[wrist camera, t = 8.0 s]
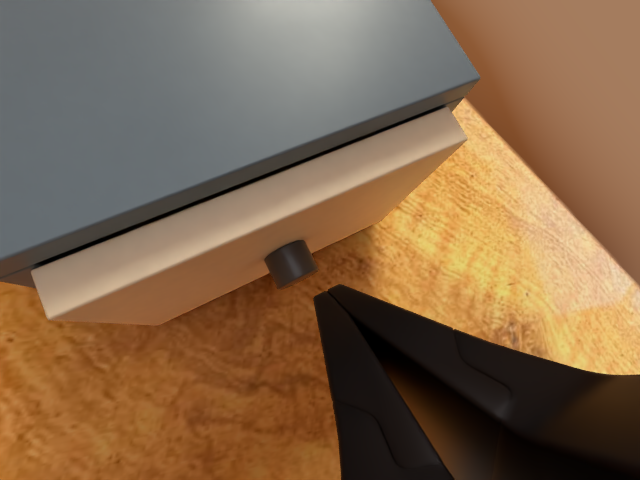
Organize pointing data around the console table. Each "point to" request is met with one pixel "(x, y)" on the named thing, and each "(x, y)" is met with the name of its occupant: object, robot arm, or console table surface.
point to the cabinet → (192, 103)
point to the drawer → (246, 230)
